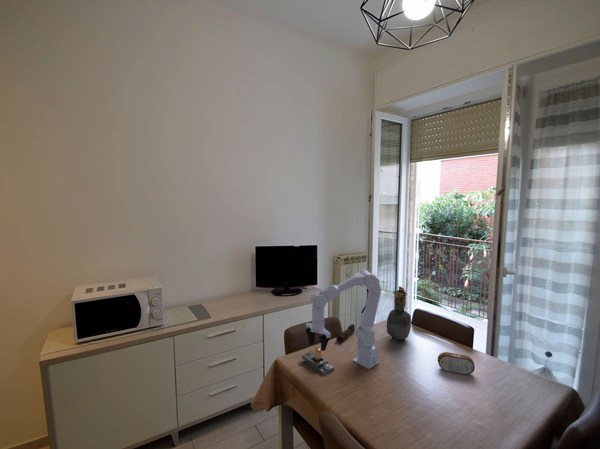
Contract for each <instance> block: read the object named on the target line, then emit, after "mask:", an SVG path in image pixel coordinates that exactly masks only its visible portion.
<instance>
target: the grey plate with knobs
mask: <svg viewBox="0 0 600 449" xmlns="http://www.w3.org/2000/svg"><path fill="white" fill-rule="evenodd" d="M314 353H315V351H313V350H311V351H308V352H306V353H303V354H302V355H301V359H302V360H304V361H305V362H306V366H309V368H311V369H313V370H315V372H317V373H319V374H321V376H322V375H323V376H325V375H328V374H330V373H331V372H333V371H335V367H334V366H333V365H331V364H330V363H329V360H328V359H327V358H324V356H321V362H319V363H316V362H314Z"/></svg>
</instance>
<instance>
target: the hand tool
mask: <svg viewBox="0 0 600 449" xmlns="http://www.w3.org/2000/svg"><path fill="white" fill-rule="evenodd" d="M355 327H356V326H355V324H354V323H353V324H349V325H348V327H347V329H345V330H344V331H343V332H342V333H340V334H339V335H337V336H336V341H337V342H338V343H340V344H341V343H342V344H343V342H344V341H345V340H346V339H347V338H348V337H349V336H350V335H353V334H354V333H355V329H356V328H355ZM353 332H354V333H353Z"/></svg>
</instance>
